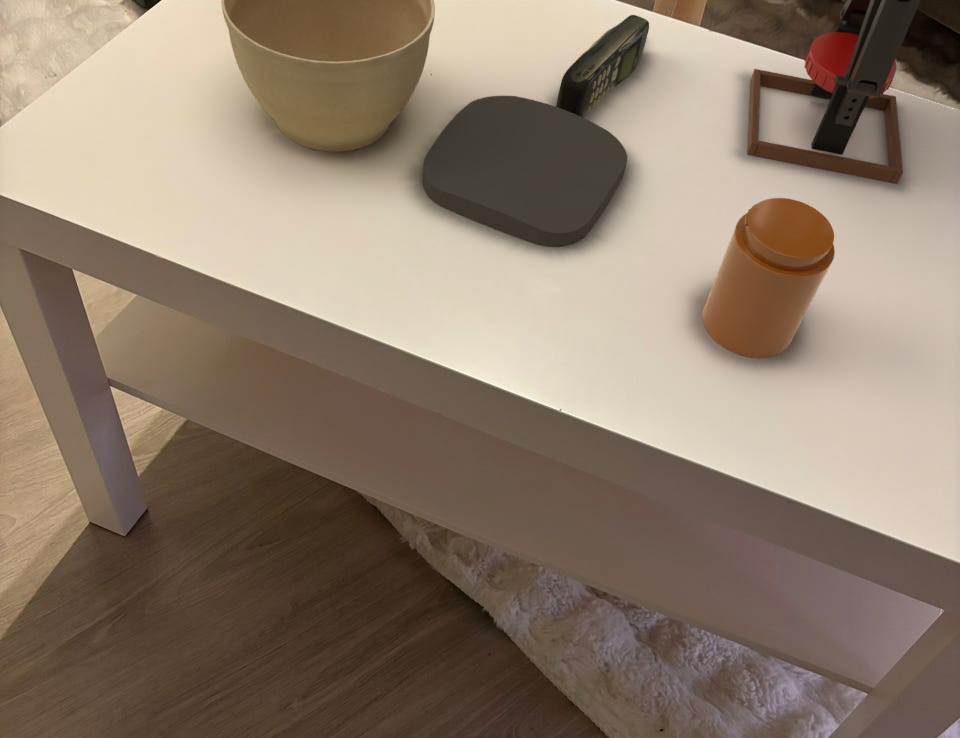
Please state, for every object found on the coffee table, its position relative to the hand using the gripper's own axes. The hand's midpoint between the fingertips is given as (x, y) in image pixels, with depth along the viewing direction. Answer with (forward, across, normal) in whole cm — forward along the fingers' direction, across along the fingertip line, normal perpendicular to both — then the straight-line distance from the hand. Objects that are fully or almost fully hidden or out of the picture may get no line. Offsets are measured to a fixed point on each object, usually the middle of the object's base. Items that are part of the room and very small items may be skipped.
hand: (826, 121), depth 91 cm
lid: (-6, 0, 0) cm, 6 cm away
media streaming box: (+2, +14, -25) cm, 29 cm away
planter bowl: (+2, +11, -42) cm, 44 cm away
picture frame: (+2, 0, 0) cm, 2 cm away
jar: (+2, +26, -6) cm, 27 cm away
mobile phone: (+2, -1, -20) cm, 20 cm away
